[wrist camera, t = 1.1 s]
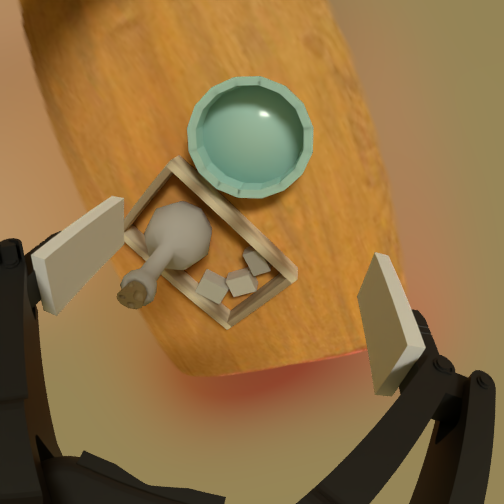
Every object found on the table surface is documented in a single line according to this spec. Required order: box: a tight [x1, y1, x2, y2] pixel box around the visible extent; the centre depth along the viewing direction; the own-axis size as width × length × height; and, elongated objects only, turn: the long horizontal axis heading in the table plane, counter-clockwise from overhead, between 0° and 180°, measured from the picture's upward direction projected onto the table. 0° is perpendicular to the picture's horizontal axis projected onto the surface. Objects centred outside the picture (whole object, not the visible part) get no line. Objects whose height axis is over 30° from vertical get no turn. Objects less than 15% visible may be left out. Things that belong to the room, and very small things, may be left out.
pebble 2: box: [243, 246, 272, 276], centre depth 44 cm, size 4×2×2 cm
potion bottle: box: [117, 201, 212, 309], centre depth 36 cm, size 9×9×18 cm
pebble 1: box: [226, 267, 258, 297], centre depth 46 cm, size 4×3×2 cm
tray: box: [124, 155, 298, 330], centre depth 44 cm, size 22×14×3 cm, turn 46°
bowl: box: [187, 76, 313, 198], centre depth 36 cm, size 14×14×4 cm
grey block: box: [195, 269, 229, 304], centre depth 47 cm, size 4×3×2 cm
